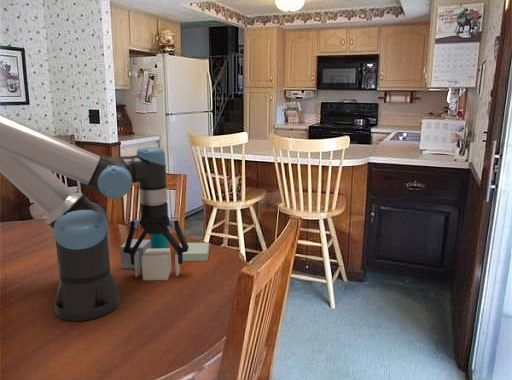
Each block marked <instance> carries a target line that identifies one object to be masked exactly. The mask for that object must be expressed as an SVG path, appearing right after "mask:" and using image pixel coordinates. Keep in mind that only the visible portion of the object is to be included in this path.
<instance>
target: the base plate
mask: <svg viewBox="0 0 512 380" xmlns="http://www.w3.org/2000/svg"><path fill="white" fill-rule="evenodd" d="M187 244H188V246H189V248H188V251H187V252H184V253H183V262H207V261H208V259H209V253H210V242H187ZM179 245H180V246H181V243H180V242H179ZM181 247H182V246H181Z"/></svg>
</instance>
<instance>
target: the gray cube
mask: <svg viewBox="0 0 512 380" xmlns="http://www.w3.org/2000/svg"><path fill="white" fill-rule="evenodd" d="M138 239H139V238H137V239H136V238H133V240H132V243H131V246H130V248H133V247H134V245H135V244H136V242H137V241H138ZM125 244H126V242H124V243H123V244H122V245H121V246H119V247H120V260H121V268H122V269H134V270H135V265H132V264H131V256H130V254H129V253H124V251H123V250H124V247H125ZM146 249H151V239H143V241H142V242H141V244H140V245H139V247H138V249H137V250H136V252H139V264H140V270H142V256H143V254H144V253H145V251H146Z"/></svg>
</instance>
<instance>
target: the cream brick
mask: <svg viewBox="0 0 512 380" xmlns="http://www.w3.org/2000/svg"><path fill="white" fill-rule="evenodd" d="M171 257H172V256H171V248H170V247H169V248H162V249H146V251H145V253H144V254H143V256H142V269H141V271H142V281H168V280H169V277H170V275H171V272H172V258H171Z"/></svg>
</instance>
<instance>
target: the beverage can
mask: <svg viewBox="0 0 512 380" xmlns="http://www.w3.org/2000/svg"><path fill="white" fill-rule="evenodd" d="M167 228H168V229H169V226H168V227H167ZM149 237H150V239H149V240H151V249H162V248H170V247H169V245H170V242H169V241H168V240H167V239H166V237H164V236H163V234H152V235H150V234H149Z"/></svg>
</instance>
